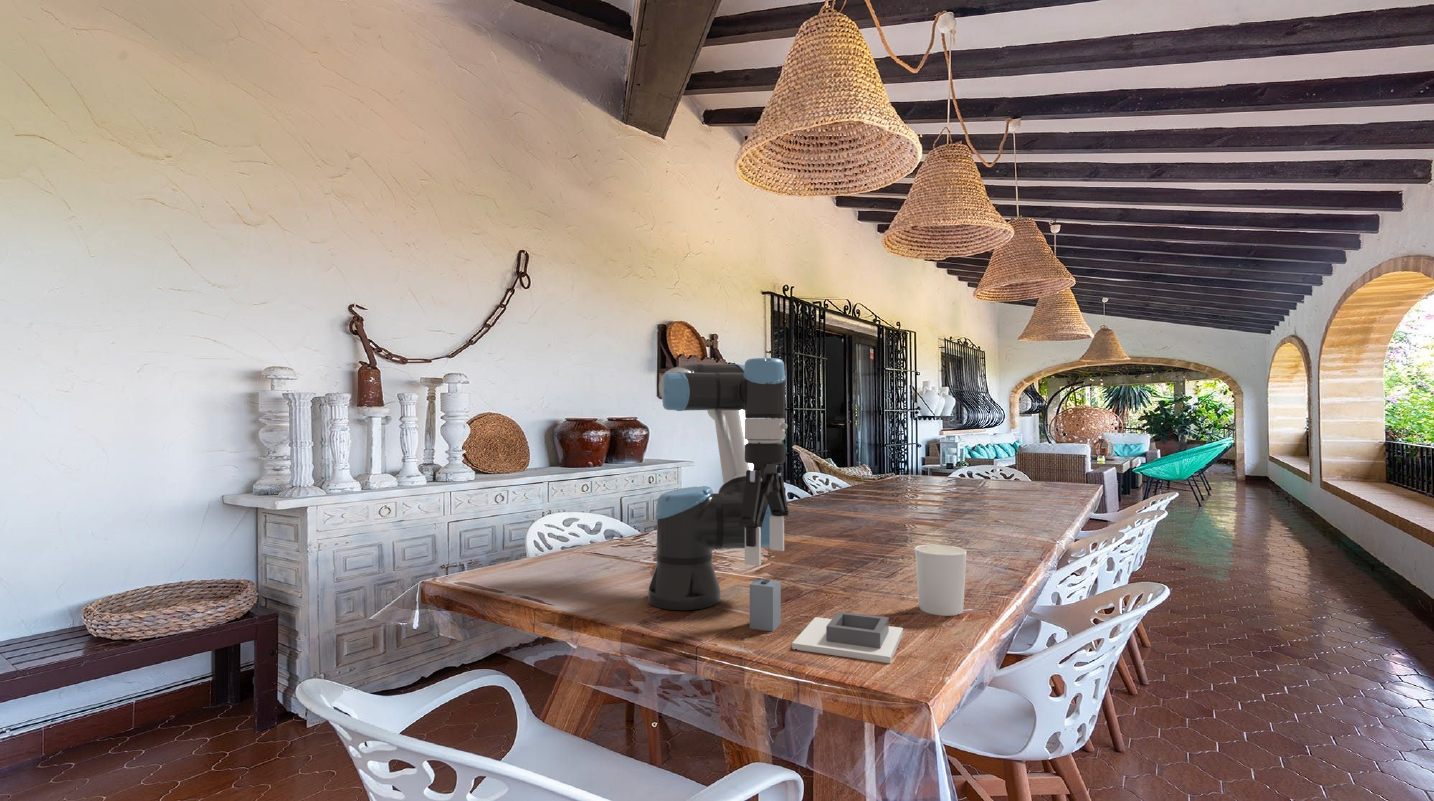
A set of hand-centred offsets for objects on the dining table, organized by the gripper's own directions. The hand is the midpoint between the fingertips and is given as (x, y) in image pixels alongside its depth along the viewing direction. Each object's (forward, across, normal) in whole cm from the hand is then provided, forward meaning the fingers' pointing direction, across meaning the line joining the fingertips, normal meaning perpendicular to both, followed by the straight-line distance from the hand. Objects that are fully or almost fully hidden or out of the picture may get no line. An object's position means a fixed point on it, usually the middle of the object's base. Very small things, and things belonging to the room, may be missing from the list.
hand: (765, 557), depth 122 cm
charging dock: (+13, -2, -16) cm, 20 cm away
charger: (+13, 0, 0) cm, 13 cm away
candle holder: (+13, +23, -29) cm, 39 cm away
